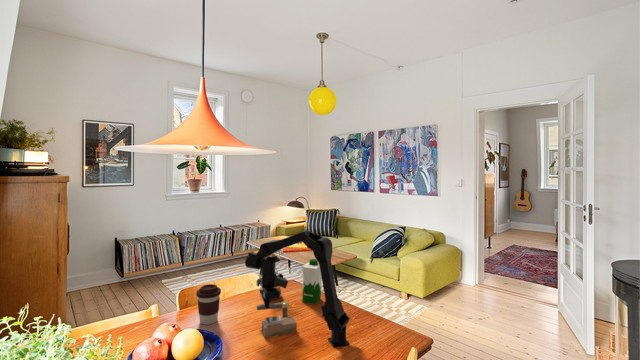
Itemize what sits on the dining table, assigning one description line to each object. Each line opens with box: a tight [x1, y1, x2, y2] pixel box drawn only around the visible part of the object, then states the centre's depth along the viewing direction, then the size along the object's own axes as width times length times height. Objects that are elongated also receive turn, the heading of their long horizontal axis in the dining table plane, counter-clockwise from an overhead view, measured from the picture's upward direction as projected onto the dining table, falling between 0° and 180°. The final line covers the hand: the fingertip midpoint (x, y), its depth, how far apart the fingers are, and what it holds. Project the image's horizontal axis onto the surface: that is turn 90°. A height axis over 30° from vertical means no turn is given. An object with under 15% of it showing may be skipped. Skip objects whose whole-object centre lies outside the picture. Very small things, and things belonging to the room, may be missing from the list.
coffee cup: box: [195, 283, 222, 326], centre depth 140 cm, size 10×10×15 cm
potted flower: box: [271, 249, 284, 301], centre depth 167 cm, size 12×10×25 cm
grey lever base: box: [261, 308, 298, 339], centre depth 135 cm, size 12×13×6 cm
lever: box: [256, 300, 290, 311], centre depth 140 cm, size 14×4×2 cm, turn 105°
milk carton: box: [301, 258, 322, 305], centre depth 163 cm, size 9×9×20 cm
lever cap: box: [264, 315, 282, 326], centre depth 131 cm, size 4×6×2 cm
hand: (267, 308), depth 138 cm, fingers closed
